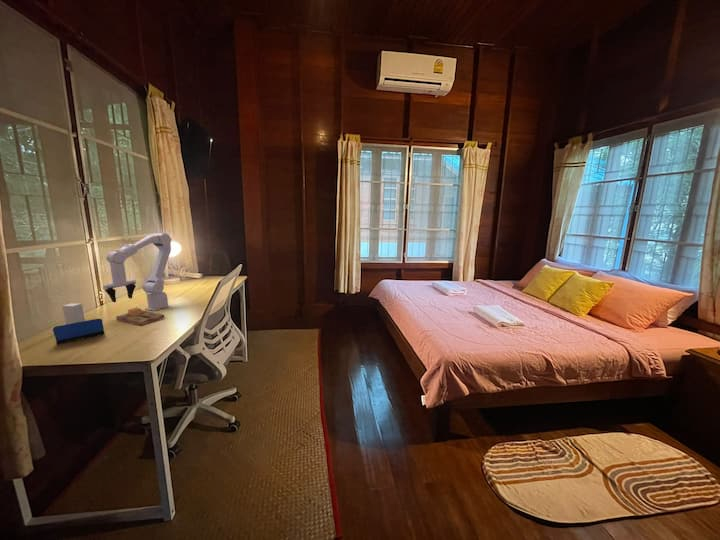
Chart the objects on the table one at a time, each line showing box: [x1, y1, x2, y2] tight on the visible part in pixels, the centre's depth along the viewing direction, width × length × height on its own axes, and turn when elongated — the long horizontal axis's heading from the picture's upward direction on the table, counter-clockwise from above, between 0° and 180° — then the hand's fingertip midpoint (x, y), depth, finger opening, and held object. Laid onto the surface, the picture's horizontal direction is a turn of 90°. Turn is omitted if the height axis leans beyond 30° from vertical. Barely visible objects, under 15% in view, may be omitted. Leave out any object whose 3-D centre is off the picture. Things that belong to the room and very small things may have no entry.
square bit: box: [127, 307, 142, 317], centre depth 160 cm, size 4×4×5 cm
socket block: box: [115, 309, 165, 326], centre depth 158 cm, size 12×20×2 cm, turn 65°
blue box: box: [52, 318, 105, 345], centre depth 134 cm, size 16×13×9 cm
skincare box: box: [61, 303, 86, 325], centre depth 144 cm, size 6×4×12 cm
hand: (122, 300), depth 160 cm, fingers open, 7 cm apart
